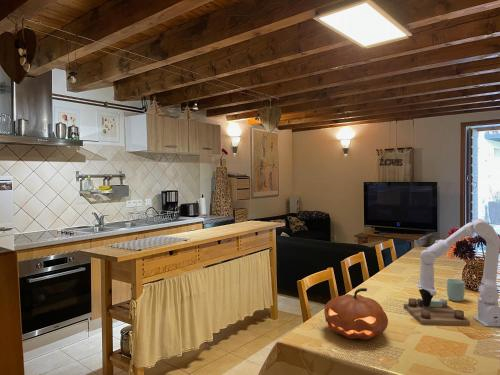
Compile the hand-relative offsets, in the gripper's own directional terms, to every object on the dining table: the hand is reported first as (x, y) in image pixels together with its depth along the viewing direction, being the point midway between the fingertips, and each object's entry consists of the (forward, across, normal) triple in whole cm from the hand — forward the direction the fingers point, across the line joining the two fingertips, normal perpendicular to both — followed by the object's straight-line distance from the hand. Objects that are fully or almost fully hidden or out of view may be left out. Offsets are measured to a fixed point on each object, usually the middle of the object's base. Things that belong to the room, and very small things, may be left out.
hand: (426, 306), depth 167 cm
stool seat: (+3, +4, +2) cm, 5 cm away
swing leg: (+1, -3, +4) cm, 5 cm away
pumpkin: (+3, +24, -38) cm, 45 cm away
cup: (+3, -18, +22) cm, 29 cm away
